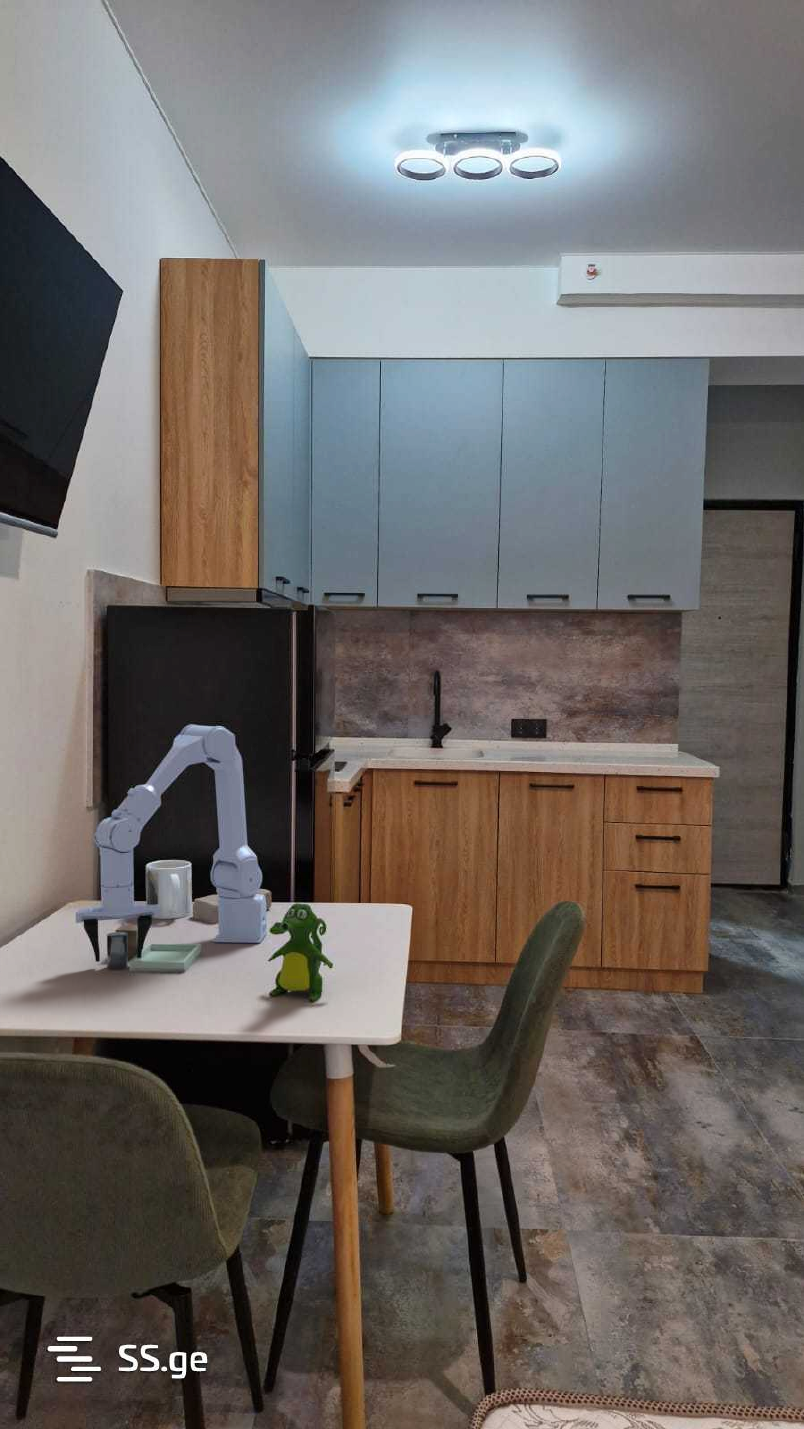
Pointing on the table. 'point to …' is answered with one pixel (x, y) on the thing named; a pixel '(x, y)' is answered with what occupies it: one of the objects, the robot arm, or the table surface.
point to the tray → (165, 957)
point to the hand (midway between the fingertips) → (118, 958)
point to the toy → (300, 952)
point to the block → (130, 938)
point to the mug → (169, 888)
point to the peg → (117, 951)
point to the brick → (209, 906)
